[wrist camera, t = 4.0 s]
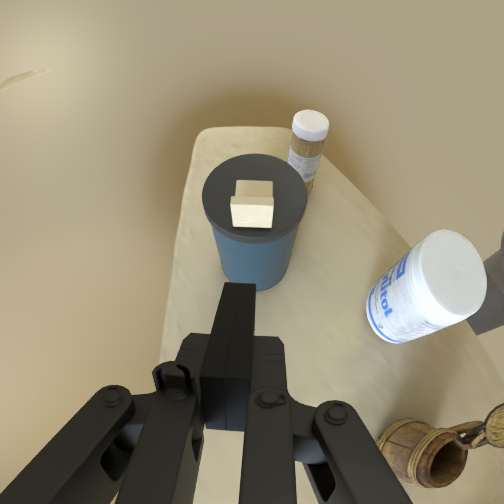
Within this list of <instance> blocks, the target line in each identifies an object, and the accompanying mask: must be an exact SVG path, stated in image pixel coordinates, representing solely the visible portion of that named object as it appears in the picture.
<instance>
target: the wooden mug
mask: <svg viewBox="0 0 504 504" xmlns="http://www.w3.org/2000/svg"><path fill="white" fill-rule="evenodd" d="M463 433H466V435H465V436H464V437H463V438H462V437H461V436H460V435H461V434H463ZM375 443H376V444H377V446H378V448H379V449H380V451H381V452H382V454H383V456H384V457H385V459H386V461H387V462H388V464H389V465H390V467H391V469H392V470H393V472H394V474H395V475H396V477H397V478H398V480H399V482H403V483H409V484H414V485H415V486H416V487H420V488H427V489H433V488H441V487H445V486H448V485H449V484H451V483H452V482H453V481H455V480H456V479H457V478H458V477H459V476H460V474H461V473H462V471H463V469H464V467H465V464H466V460H467V455H468V449H475V448H477V447H480V446H483V445H485V444H490V445H492V446H494V447H498V448H504V403H503V404H501V405H499V406H497V407H495V408H494V409H493V410H492V411H491V412H490V413H489V415H488V416H487V418H486V420H485V422H482V421H472V422H467V423H463V424H460V425H457V426H454V427H450V428H438V429H437V428H434V427H431V426H429V424H427V423H426V422H424V421H422V420H415V419H411V418H407V419H403V420H399V421H397V422H396V423H394V424H393V425H391V426H390V427H388V428H387V429H386V430H385V431H384V432H383V433H382V434H381V436H380V437H379V438H378V439H377V441H376V442H375Z"/></svg>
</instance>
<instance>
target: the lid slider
mask: <svg viewBox="0 0 504 504" xmlns="http://www.w3.org/2000/svg"><path fill="white" fill-rule="evenodd" d="M230 206H231V213H232V221H233V226H234V227H261V228H272V220H273V209H274V198H273V181H254V180H237V182H236V192H235V196H231V203H230Z"/></svg>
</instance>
